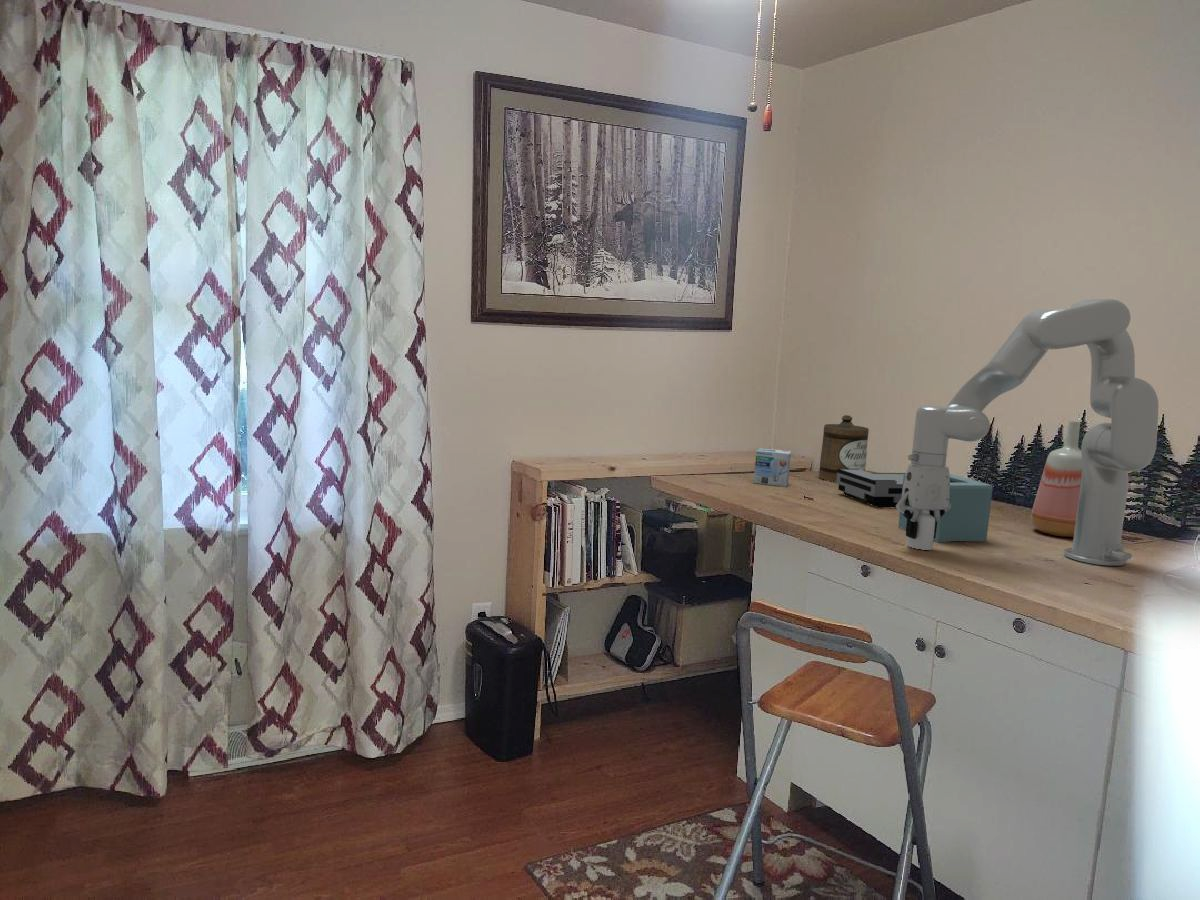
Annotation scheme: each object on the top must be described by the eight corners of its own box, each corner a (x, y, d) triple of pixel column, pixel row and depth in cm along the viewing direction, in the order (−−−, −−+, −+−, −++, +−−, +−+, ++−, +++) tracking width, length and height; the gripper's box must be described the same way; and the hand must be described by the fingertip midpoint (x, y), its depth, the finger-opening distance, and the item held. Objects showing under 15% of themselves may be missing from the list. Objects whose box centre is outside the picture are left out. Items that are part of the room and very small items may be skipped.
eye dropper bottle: (919, 545, 212) (924, 495, 210) (934, 551, 206) (940, 500, 205) (903, 545, 210) (908, 495, 209) (919, 551, 205) (924, 500, 203)
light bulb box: (752, 483, 286) (755, 450, 284) (755, 480, 292) (758, 447, 290) (786, 486, 282) (789, 453, 281) (788, 483, 289) (791, 450, 287)
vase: (1057, 526, 243) (1071, 418, 239) (1103, 539, 230) (1119, 425, 225) (1016, 528, 238) (1030, 417, 233) (1062, 541, 224) (1077, 424, 220)
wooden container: (848, 485, 292) (854, 418, 289) (810, 477, 303) (815, 413, 300) (872, 481, 302) (878, 417, 299) (834, 474, 313) (840, 412, 310)
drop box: (986, 541, 220) (992, 485, 218) (938, 542, 216) (944, 485, 214) (944, 526, 235) (949, 473, 233) (898, 527, 231) (903, 473, 229)
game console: (968, 508, 264) (971, 481, 263) (873, 509, 255) (875, 480, 254) (924, 494, 283) (927, 469, 282) (835, 494, 275) (837, 468, 273)
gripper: (907, 462, 199) (898, 541, 202) (970, 462, 204) (961, 540, 207) (887, 456, 207) (879, 534, 209) (949, 457, 211) (940, 532, 214)
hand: (920, 536), depth 208 cm, fingers closed on eye dropper bottle, 4 cm apart
